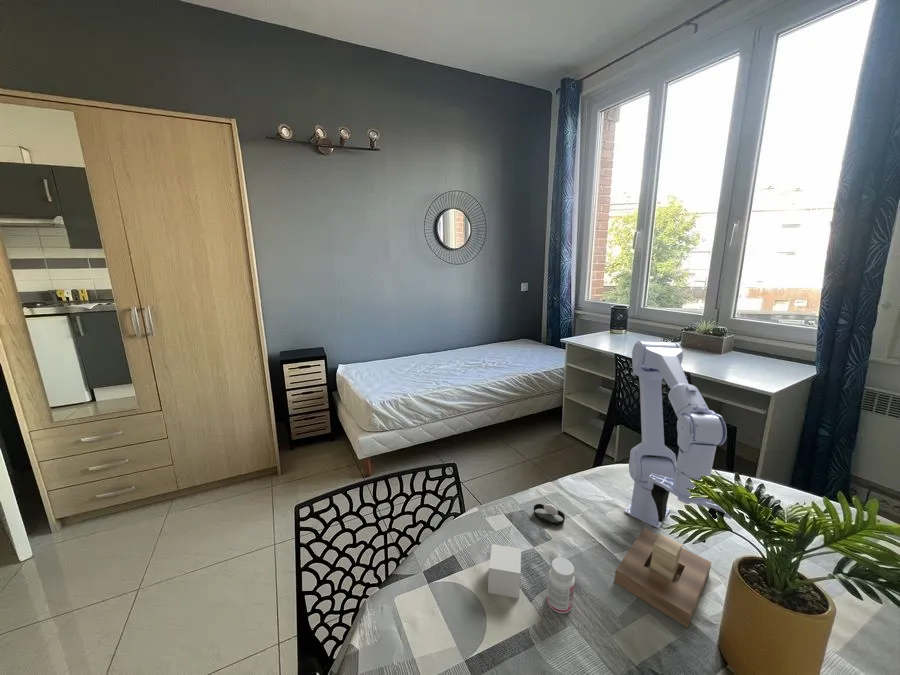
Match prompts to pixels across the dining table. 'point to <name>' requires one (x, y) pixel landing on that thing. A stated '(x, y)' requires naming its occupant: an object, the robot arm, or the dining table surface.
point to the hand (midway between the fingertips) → (681, 529)
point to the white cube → (504, 571)
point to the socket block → (663, 579)
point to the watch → (551, 510)
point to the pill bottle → (561, 585)
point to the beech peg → (666, 557)
